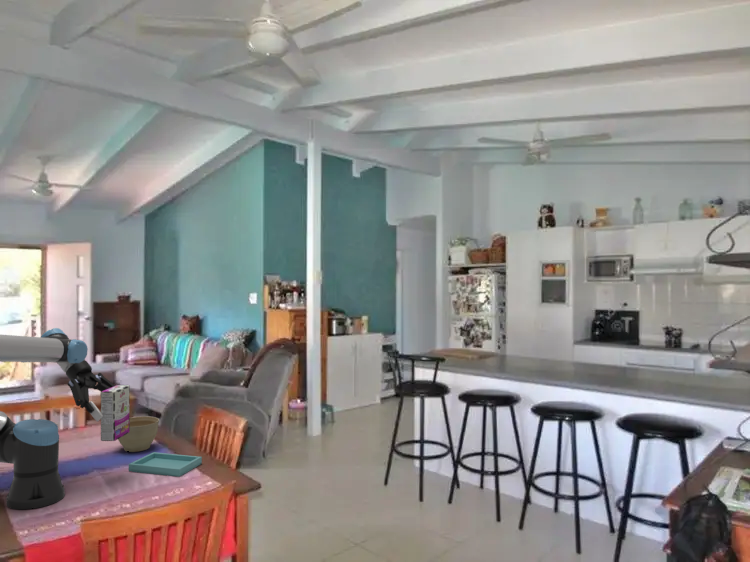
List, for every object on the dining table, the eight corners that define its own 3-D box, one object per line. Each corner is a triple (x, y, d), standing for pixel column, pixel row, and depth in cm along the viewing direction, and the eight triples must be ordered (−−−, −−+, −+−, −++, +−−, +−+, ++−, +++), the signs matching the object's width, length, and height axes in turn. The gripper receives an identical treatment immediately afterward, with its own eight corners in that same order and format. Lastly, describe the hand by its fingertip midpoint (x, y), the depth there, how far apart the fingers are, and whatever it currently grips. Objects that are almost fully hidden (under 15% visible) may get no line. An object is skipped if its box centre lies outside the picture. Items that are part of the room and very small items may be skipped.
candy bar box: (115, 432, 196) (116, 384, 196) (129, 432, 196) (130, 385, 196) (99, 441, 184) (100, 391, 185) (114, 441, 184) (115, 391, 184)
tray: (179, 476, 192) (179, 469, 192) (128, 471, 197) (128, 464, 197) (201, 463, 205) (201, 456, 205) (153, 458, 210) (153, 452, 210)
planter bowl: (145, 440, 234) (145, 414, 234) (166, 448, 224) (166, 420, 224) (106, 449, 221) (106, 421, 221) (127, 458, 211) (127, 429, 211)
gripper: (94, 369, 206) (129, 414, 202) (40, 379, 183) (79, 430, 179) (106, 355, 205) (142, 400, 201) (54, 363, 182) (94, 415, 178)
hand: (113, 414), depth 190 cm, fingers closed on candy bar box, 11 cm apart
